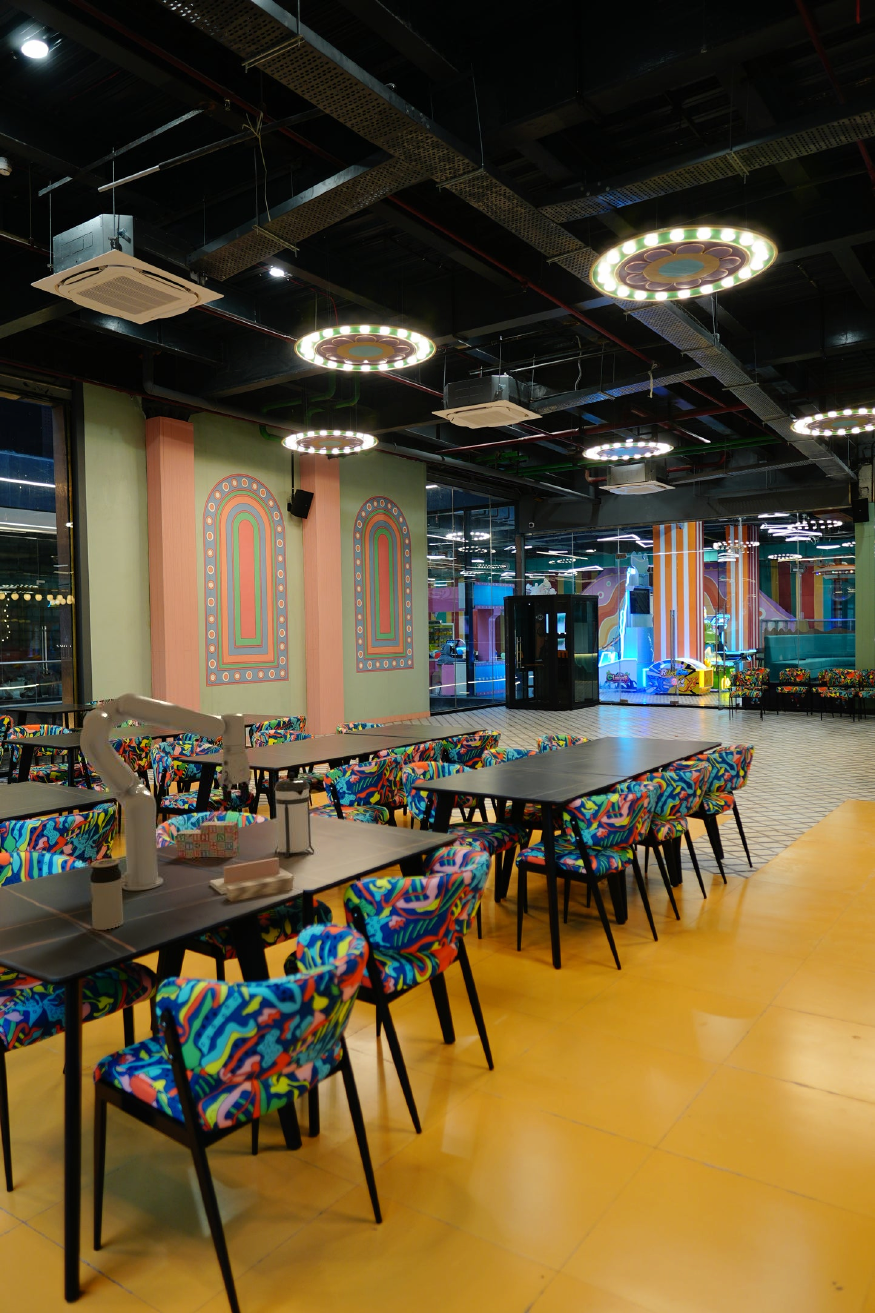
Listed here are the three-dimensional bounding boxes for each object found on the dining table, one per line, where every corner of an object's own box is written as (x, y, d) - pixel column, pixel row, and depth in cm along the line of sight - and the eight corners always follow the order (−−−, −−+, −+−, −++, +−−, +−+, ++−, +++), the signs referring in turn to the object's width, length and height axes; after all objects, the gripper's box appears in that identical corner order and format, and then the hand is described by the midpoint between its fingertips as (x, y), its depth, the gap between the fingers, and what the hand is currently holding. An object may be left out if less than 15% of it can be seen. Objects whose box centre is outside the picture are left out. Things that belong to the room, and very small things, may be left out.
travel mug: (127, 920, 237) (124, 857, 236) (117, 930, 229) (114, 865, 229) (99, 921, 237) (96, 858, 236) (88, 931, 229) (85, 866, 228)
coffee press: (322, 848, 312) (319, 768, 312) (304, 859, 297) (301, 775, 296) (280, 846, 317) (277, 768, 317) (260, 857, 302) (257, 775, 301)
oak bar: (230, 902, 251) (230, 889, 251) (226, 899, 254) (226, 886, 254) (292, 890, 262) (292, 877, 262) (288, 887, 265) (287, 874, 265)
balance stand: (221, 894, 259) (220, 873, 259) (210, 885, 269) (209, 865, 269) (294, 880, 271) (293, 860, 271) (280, 872, 282) (279, 853, 281)
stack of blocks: (177, 858, 305) (175, 825, 305) (184, 854, 311) (182, 821, 311) (233, 858, 303) (232, 824, 303) (239, 853, 309) (238, 820, 309)
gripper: (227, 753, 275) (229, 804, 276) (258, 746, 291) (260, 795, 292) (209, 753, 278) (211, 804, 279) (240, 746, 294) (242, 794, 295)
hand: (236, 799), depth 285 cm, fingers open, 9 cm apart
